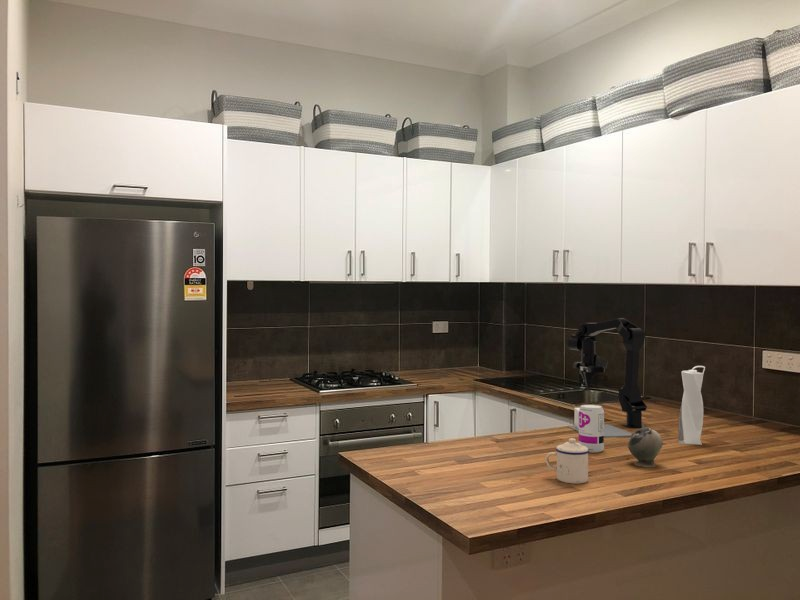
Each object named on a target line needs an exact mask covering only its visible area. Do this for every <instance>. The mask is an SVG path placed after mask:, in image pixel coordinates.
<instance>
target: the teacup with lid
mask: <svg viewBox="0 0 800 600" xmlns="http://www.w3.org/2000/svg"><path fill="white" fill-rule="evenodd" d="M555 451H556V452H555ZM555 451H554V452H553V451H551V452H548V453H547V454H546V456H545V462H546V465H547V466H548V468H549V469H551V470H554V471H556V479H557V481H559V482H561V483H566V484H576V485H577V484H584V483H587V482H589V453H590V452H589V450H588V448H587V447H585V446H582V445H581V444H579V442H577V440H576V438H574V437H572V438H568V441H566V442H564V443H561V444H558V445H557V446H556V448H555ZM550 456H556V466H554V465H552V464H551V463H550V461H549V457H550Z"/></svg>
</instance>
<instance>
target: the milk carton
mask: <svg viewBox="0 0 800 600" xmlns="http://www.w3.org/2000/svg"><path fill="white" fill-rule="evenodd" d="M579 409H580V407H574V417H573V418H574V426H576V427H577V428H578V429H579Z"/></svg>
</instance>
